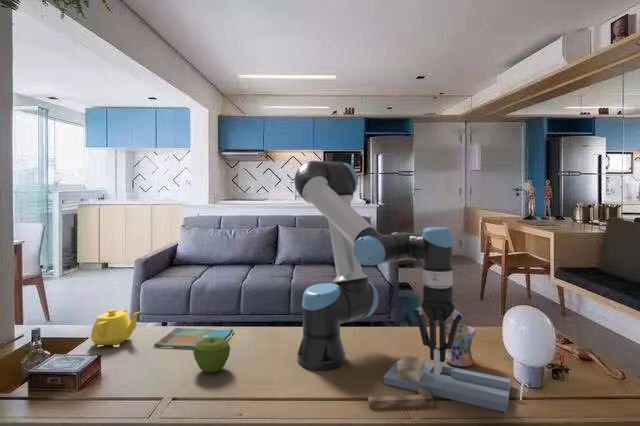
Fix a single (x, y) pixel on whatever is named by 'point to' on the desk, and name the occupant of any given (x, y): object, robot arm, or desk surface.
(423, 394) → the crook tool
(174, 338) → the colourful book
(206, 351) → the apple
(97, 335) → the teapot
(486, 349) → the desk surface
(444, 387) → the board
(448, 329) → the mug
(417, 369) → the block
